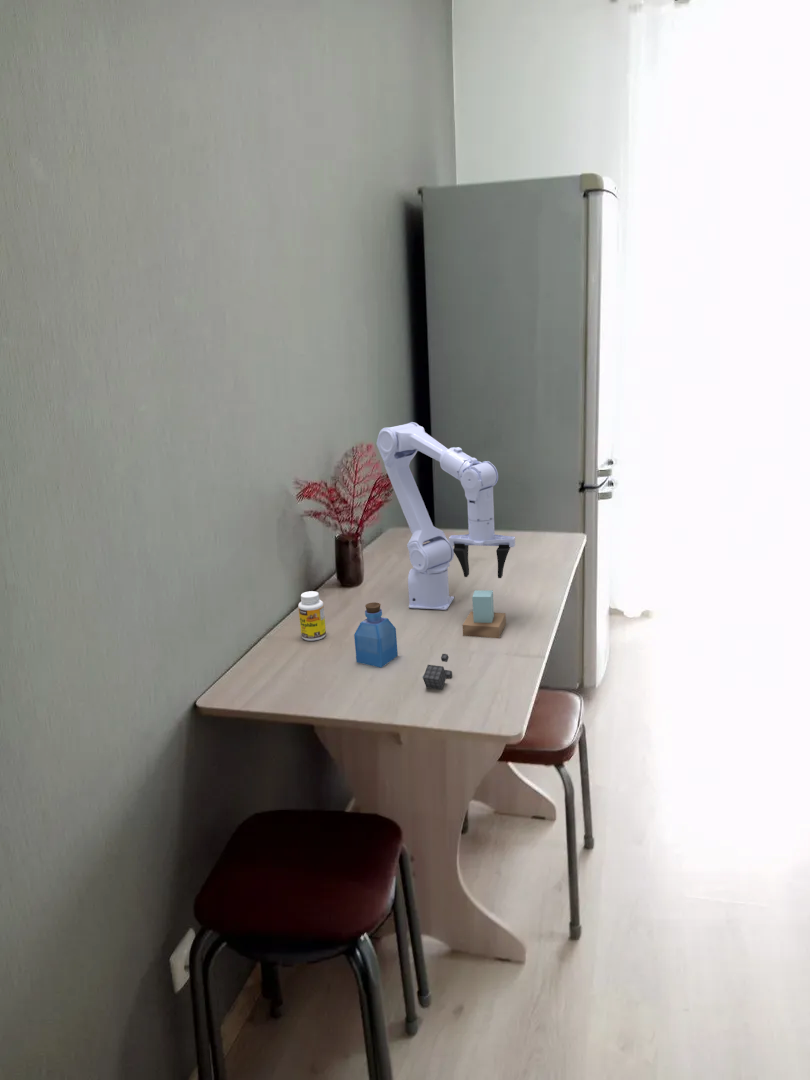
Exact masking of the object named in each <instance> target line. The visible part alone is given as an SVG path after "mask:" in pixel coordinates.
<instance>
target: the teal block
mask: <svg viewBox="0 0 810 1080" xmlns="http://www.w3.org/2000/svg"><path fill="white" fill-rule="evenodd" d="M471 599H472V611H473V618H474V623H492V621H493V618H494V613H495V610H494V609H495V608H494V591H493V590H490V589H489V590H488V589H487V590H485V589H484V590H481V589H480V590H477V589H475V590H474V592H473V595H472V597H471Z"/></svg>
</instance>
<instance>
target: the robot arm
mask: <svg viewBox="0 0 810 1080" xmlns="http://www.w3.org/2000/svg"><path fill="white" fill-rule="evenodd" d="M425 430H426V429H425V428H424V427H423V426H421V425H419V424H418V423H417V422H413V421H410V422H407V423H404V424H400V425H395V426H391V427H383V428H381V429H380V430H379V433H378V435H377V439H376V443H375V445H376V446H377V449H378V452H379V454H380V456H381V459H382V461H383V464H384V465H383V466H384V468H385V472H386V473H387V476H388V478H389V481H390V483H391V485H392V489H393V491H394V493H395V496H396V498H397V501H398V503H399V505H400V508H401V511H402V512H403V513H402V514H403V515H404V517H405V519H406V523H407V526H408V528H409V530H410V532H411V534H412V535H411V537H410V539H409V541H408V542H407V544H406V547H407V550H408V554H409V561H410V564H411V566H412V568H410V570H409V572H408V576H407V588H408V589H407V590H408V602H409V603H408V604H409V605H408V608H409V609H420V610H421V609H422V610H426V609H427V610H444V611H447V610H448V608H449V607H450V605H451V604H452V602H453V601H454V599H455V596H452V595H451V596H450V591H449V590H450V588H449V587H450V586H449V585H450V584H449V571H448V570H449V567H450V566H451V565H450V562H452V560H453V559H454V555H455V556H456V558H457V560H458V562H459V565H460V566H461V570H462V573H463V577H464V578H468V577H469V575H470V565H469V546H479V547H480V546H481V547H482V546H483V547H484V546H487V547H489V546H490V547H497V548H496V558H497V578H498V579H502V578H503V574H504V573H503V572H504V567H505V563H506V560H507V556H508V555H509V551H510V550H511V548H515V547H516V536H511V535H510V536H509V535H504V534H503V535H502V534H496V533H495V507H494V506H495V504H494V487H495V486H496V484H497V483H498V481H499V472H498V470H497V468H496V467H497V466H495V465H494V464H493V463H492V462H490V461H489V460H487V461H486V460H484V461H482V462H481V460H480V461H479V460H478V459H477V458H476V457H472V456H471V455H468V454H467V453H465V452H464V451H463V449H462V448H461V447H460V446H458V447H455V446H453V447H450V448H448V447H446V446H445V445H443V444H442V443H440V442H439V441H438V440H437V439H436V438H434V437H432V436H431V435H430V434H428V433H427V432H426V431H425ZM418 452H420V453H422V454H424V455H426V456H428V457H430V458H432V459H434V460H435V461H436V462H439V465H440V468H441V469H442V471H444V472H445V473H447V474H449V475H450V476H452V477H453V478H455V479H456V480H458V481H459V482H460V484H461V487H462V488H463V491H464V497H465V499H466V501H467V524H468V525H467V527H468V533H467V534H456V535H455V534H453V535H452V534H451V535H450V536H449V537H448V538H447V537H446V534H445V532H444V531H443V530H442V529H440V528H438V527H435V526H434V524H433V522H432V519H431V517H430V515H429V511H428V509H427V508H426V505H425V502H424V500H423V497H422V495H421V493H420V490H419V487H418V486H417V483H416V480H415V478H414V474H413V473H412V471H411V468H410V463H411V461H413V459H414V457H415V456H416V454H417V453H418Z"/></svg>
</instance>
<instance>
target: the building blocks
mask: <svg viewBox="0 0 810 1080" xmlns="http://www.w3.org/2000/svg"><path fill="white" fill-rule="evenodd" d="M440 659H441V662H445V663H447V662H448V660H449V655H448V654H446V653H442V654H441V657H440ZM452 676H453V672H452V670H450V669H449V670H447V669H445V668H444V666H441V665H434V664H427V666H426V669H425V672H424V674H423V676H422V680H423V683H424V685H425V688H428V689H434V690H443V688H444V686H445V682H446V679H447V677H448V679H451V678H452Z"/></svg>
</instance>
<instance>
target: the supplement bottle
mask: <svg viewBox="0 0 810 1080" xmlns="http://www.w3.org/2000/svg"><path fill="white" fill-rule="evenodd" d="M300 600H301V601H300V602H299V603H298V605H297V606H298V617H299V625H300V634H301V635H300V636H301V638H302V639H303V640H305V641H309V642H313V641H319V640H321V639H323V638H325V637H326V635H327V629H326V628H327V627H326V617H325V607H324V601H322V600H321V599H320V594H319V592H318V591H313V590H311V591H310V590H309V591H305V592H302V593H301V595H300Z"/></svg>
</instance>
